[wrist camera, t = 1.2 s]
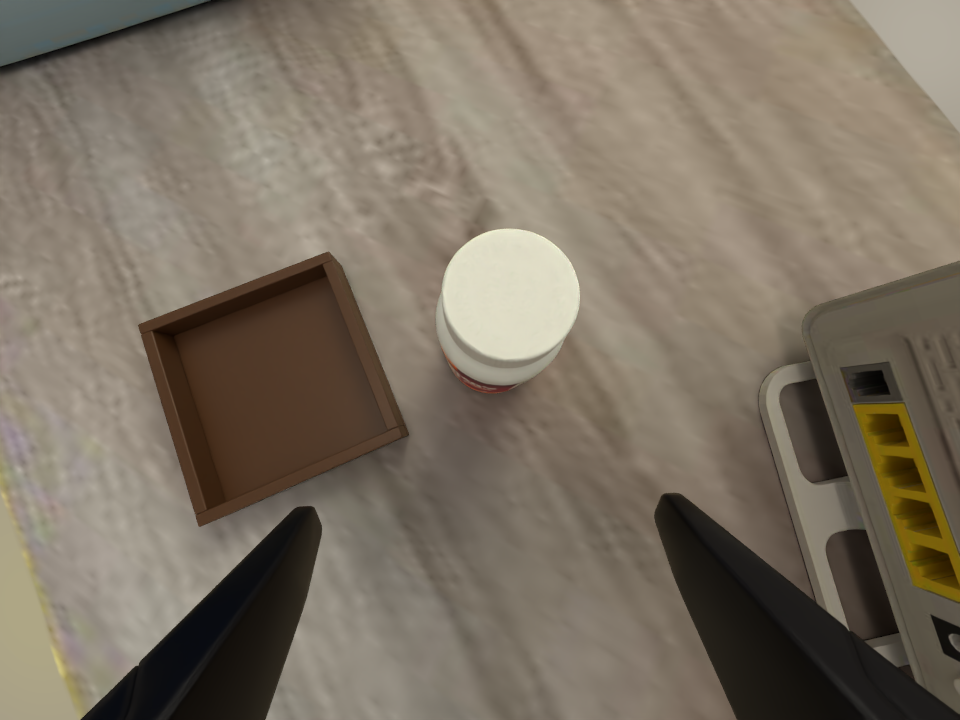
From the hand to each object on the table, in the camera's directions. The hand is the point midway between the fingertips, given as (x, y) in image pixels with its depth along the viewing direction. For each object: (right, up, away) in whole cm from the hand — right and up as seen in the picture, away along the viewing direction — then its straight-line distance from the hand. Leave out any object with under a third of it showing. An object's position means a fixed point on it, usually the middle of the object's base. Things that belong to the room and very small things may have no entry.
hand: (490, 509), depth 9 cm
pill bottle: (0, +5, +15) cm, 15 cm away
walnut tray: (-13, +2, +14) cm, 19 cm away
